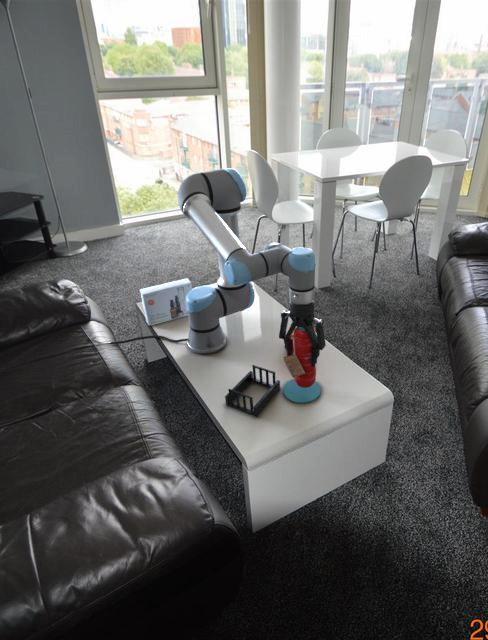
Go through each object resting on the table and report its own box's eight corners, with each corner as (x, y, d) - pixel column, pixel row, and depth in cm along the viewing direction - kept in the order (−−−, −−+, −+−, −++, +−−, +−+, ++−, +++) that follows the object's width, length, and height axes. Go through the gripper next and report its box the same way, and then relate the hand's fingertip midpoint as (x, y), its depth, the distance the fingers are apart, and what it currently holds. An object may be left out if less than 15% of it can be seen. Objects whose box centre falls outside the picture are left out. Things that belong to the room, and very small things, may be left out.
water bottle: (295, 398, 144) (294, 334, 131) (280, 386, 150) (278, 323, 136) (322, 383, 150) (324, 320, 137) (307, 372, 156) (307, 311, 142)
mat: (276, 396, 150) (276, 394, 149) (294, 375, 159) (294, 373, 159) (310, 408, 144) (310, 407, 144) (326, 385, 154) (326, 384, 153)
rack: (226, 405, 146) (223, 388, 142) (251, 379, 157) (249, 363, 153) (256, 417, 141) (255, 400, 137) (280, 389, 152) (279, 372, 148)
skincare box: (149, 327, 188) (142, 294, 179) (146, 321, 192) (138, 288, 183) (196, 314, 197) (191, 281, 188) (192, 308, 200) (187, 277, 192)
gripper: (265, 297, 133) (268, 358, 146) (328, 313, 125) (326, 376, 137) (277, 287, 139) (279, 346, 151) (339, 301, 130) (335, 363, 143)
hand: (301, 360), depth 144 cm, fingers closed on water bottle, 8 cm apart
